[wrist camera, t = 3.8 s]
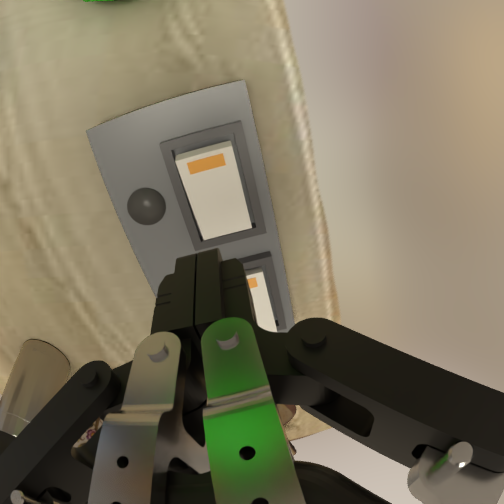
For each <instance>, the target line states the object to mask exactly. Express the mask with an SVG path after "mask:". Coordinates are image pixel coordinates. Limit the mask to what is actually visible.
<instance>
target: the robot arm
mask: <svg viewBox="0 0 504 504" xmlns="http://www.w3.org/2000/svg"><path fill="white" fill-rule="evenodd" d="M155 305H156V307H155V309H154V315H153V321H152V327H151V334H150V336H148V337H147V338H145V339H144V340H143V341H142V342H141V343H140V344H139V345H138V347H137V349H136V351H135V355H134V358H133V360H132V361H130V362H128V363H126V364H124V365H121V366H119V367H117V368H115V369H111V368H110V366H109V365H108V364H107V363H105V362H103V361H92V362H89V363H87V364H85V365H84V366H82V367H81V368H80V369H79V370H78V371H77V372H76V373H75V374H74V375H73V376H72V377H71V379H70V380H69V381H68V382H67V383H66V381H67V377H68V374H69V370H70V364H69V362H68V360H67V359H66V357H65V356H64V355H63V354H62V353H61V352H60V351H59V350H57V349H56V348H54V347H53V346H51V345H49V344H47V343H45V342H43V341H39V340H28V341H26V342H25V343H24V345H23V347H22V349H21V351H20V353H19V356H18V358H17V360H16V362H15V364H14V367H13V369H12V372H11V374H10V377H9V379H8V382H7V384H6V387H5V389H4V392H3V395H2V398H1V400H0V504H392V503H390V502H388V501H386V500H384V499H382V498H381V497H379V496H377V495H375V494H373V493H372V492H370V491H369V490H367V489H365V488H363V487H362V486H360V485H359V484H357V483H355V482H353V481H352V480H350V479H349V478H347V477H345V476H344V475H342V474H341V473H339V472H337V471H335V470H333V469H330V468H328V467H325V466H322V465H319V464H315V463H311V462H304V461H295V460H294V457H293V454H292V451H291V447H290V444H289V441H288V438H287V435H286V432H285V429H284V426H283V423H282V419H281V416H280V413H279V410H278V406H277V404H285V405H300V407H301V408H302V409H303V410H305V411H306V412H308V413H310V414H311V415H313V416H314V417H316V418H318V419H319V420H321V421H323V422H324V423H326V424H328V425H330V426H331V427H333V428H335V429H336V430H338V431H340V432H342V433H343V434H345V435H347V436H349V437H351V438H352V439H354V440H356V441H358V442H360V443H362V444H363V445H365V446H367V447H369V448H371V449H373V450H375V451H377V452H379V453H380V454H382V455H384V456H386V457H388V458H390V459H392V460H394V461H396V462H399V463H400V464H403V465H405V466H407V467H409V468H411V469H410V471H409V474H408V479H407V480H408V481H407V482H408V488H409V490H410V492H411V494H412V495H413V496H414V497H415V498H417V499H418V500H420V501H421V502H422V503H423V504H497V502H498V500H499V498H500V496H501V494H502V492H503V489H504V393H503V392H500V391H497V390H495V389H492V388H490V387H487V386H484V385H482V384H479V383H477V382H474V381H472V380H469V379H467V378H464V377H462V376H459V375H457V374H454V373H452V372H449V371H447V370H444V369H442V368H440V367H437V366H434V365H432V364H430V363H428V362H425V361H423V360H421V359H418V358H416V357H413V356H411V355H409V354H406V353H404V352H401V351H399V350H397V349H394V348H392V347H390V346H388V345H385V344H383V343H381V342H378V341H376V340H374V339H371V338H369V337H367V336H365V335H362V334H360V333H358V332H355V331H353V330H351V329H349V328H346V327H344V326H342V325H340V324H337V323H335V322H333V321H331V320H328V319H325V318H309V319H305V320H302V321H300V322H298V323H297V324H295V325H294V326H293V327H292V328H291V329H290V330H289V331H288V332H271V331H267V330H264V329H263V328H261V327H259V326H258V323H257V318H256V313H255V308H254V303H253V298H252V294H251V291H250V287H249V284H248V280H247V277H246V273H245V270H244V266H243V264H242V263H241V262H240V261H239V260H237V259H236V258H233V259H229V260H225V261H223V259H222V256H221V253H220V250H219V248H214V249H210V250H206V251H202V252H198V254H197V253H195V254H191V255H187V256H183V257H179V258H177V259H176V264H175V271H174V273H173V274H169V275H166V276H165V277H164V279H163V280H162V282H161V283H160V285H159V287H158V293H157V298H156V304H155ZM98 417H99V418H100V419H101V420H102V421H103V424H102V425H101V427H100V428H99V429H98V430H97V431H96V432H95V433H94V434H93V436H92V437H91V438H90V439H89V440H88V441H87V442H86V443H85V444H84V445H83V446H81V447H73V445H74V444H75V443H76V442H77V441H78V440H79V439H80V437H81V436H82V435H83V434H84V433H85V432H86V431H87V430H88V429H89V427H90V426H91V425H92V424H93V423H94V422H95V421H96V420H97V419H98Z"/></svg>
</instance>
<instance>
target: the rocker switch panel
mask: <svg viewBox="0 0 504 504" xmlns="http://www.w3.org/2000/svg"><path fill="white" fill-rule="evenodd" d="M86 133H87V136H88V139H89V142H90V145H91V148H92V151H93V153H94V156H95V159H96V162H97V164H98V167H99V170H100V172H101V175H102V178H103V180H104V183H105V186H106V188H107V191H108V193H109V196H110V198H111V201H112V203H113V205H114V208H115V210H116V213H117V215H118V217H119V220H120V222H121V224H122V227H123V229H124V231H125V233H126V236H127V238H128V240H129V242H130V245H131V247H132V249H133V251H134V253H135V255H136V258H137V260H138V262H139V264H140V266H141V268H142V270H143V272H144V274H145V276H146V278H147V280H148V282H149V284H150V286H151V288H152V290H153V292H154V294H155V296H156V298H157V293H158V287H159V285H160V283H161V282H162V280H163V279H164V277H165V276H166V275H169V274H173V273H174V271H175V264H176V259H177V258H179V257H183V256H187V255H191V254H195V253H197V254H198V252H202V251H206V250H210V249H214V248H219V250H220V253H221V256H222V259H223V261H225V260H229V259H233V258H236V259H237V260H239V261H240V262H241V263H242V264H243V266H244V270H245V271H246V270H250V269H254V268H258V267H262V271H263V275H264V279H265V283H266V287H267V291H268V296H269V300H270V304H271V308H272V312H273V316H274V320H275V324H276V328H277V332H288V331H289V330H290V329H291V328H292V327H293V326H294V325H295V323H294V317H293V311H292V306H291V300H290V295H289V289H288V284H287V278H286V273H285V268H284V262H283V257H282V252H281V247H280V242H279V236H278V231H277V226H276V221H275V216H274V211H273V206H272V201H271V197H270V192H269V187H268V182H267V177H266V173H265V168H264V163H263V158H262V154H261V149H260V145H259V140H258V136H257V131H256V126H255V122H254V118H253V113H252V109H251V104H250V100H249V96H248V91H247V87H246V83H245V80H239V81H234V82H230V83H226V84H221V85H217V86H213V87H209V88H206V89H202V90H198V91H194V92H191V93H187V94H184V95H180V96H177V97H174V98H171V99H167V100H164V101H161V102H158V103H155V104H152V105H149V106H146V107H143V108H140V109H138V110H135V111H132V112H129V113H127V114H124V115H122V116H119V117H116V118H114V119H111V120H109V121H106V122H104V123H102V124H99V125H97V126H95V127H93V128H91V129H89V130H86ZM230 140H231V144H232V148H233V152H234V156H235V160H236V164H237V168H238V172H239V176H240V180H241V184H242V189H243V193H244V197H245V201H246V205H247V209H248V213H249V217H250V222H251V226H252V228H250V229H246V230H242V231H238V232H234V233H230V234H226V235H222V236H218V237H214V238H211V239H207V240H204V239H203V236H202V234H201V231H200V228H199V226H198V223H197V220H196V218H195V215H194V212H193V210H192V207H191V204H190V201H189V199H188V196H187V193H186V190H185V188H184V185H183V182H182V179H181V176H180V174H179V171H178V168H177V165H176V162H175V159H176V155H178V154H182V153H185V152H189V151H192V150H196V149H199V148H203V147H207V146H210V145H214V144H218V143H222V142H226V141H230Z"/></svg>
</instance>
